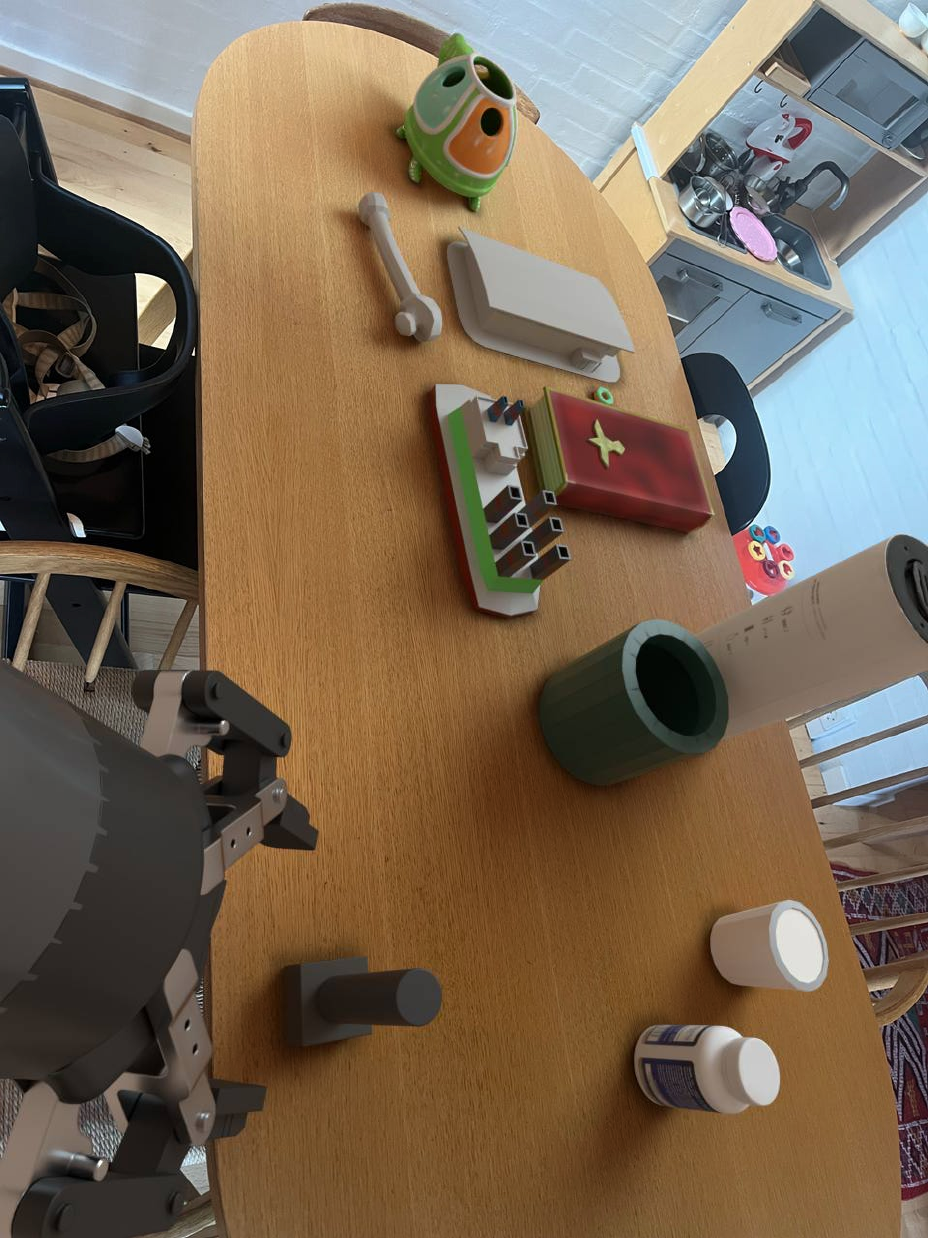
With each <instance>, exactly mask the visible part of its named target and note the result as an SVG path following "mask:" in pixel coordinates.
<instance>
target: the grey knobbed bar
mask: <svg viewBox="0 0 928 1238" xmlns="http://www.w3.org/2000/svg"><path fill="white" fill-rule="evenodd" d="M357 205H358V206H357V207H358V215H359V219H360V220H361V222H362V223H363V225H365V226H367V227H369V229H370V232H371V236H372V238H373V241H374V243H375V246H376V248H377V251H378V253H379V256H380V258H381V261H382V263H383V267H384V268H385V270H386V272H387V274H388V277H389V280H390V282H391V283H392V286H393V288H394V290H395V293H396V294H397V297H398V299H399V301H400V304H399V306H398V308H399V312H398V313H397V314H396V316H395V317H394V321H395V322H394V323H395V328H396V330H397V331H398V333H399V334H400V335H401V336H405V337H410V336H413V337H414V338H415V339H416V340H417V341H418V342H419V343H430V342H434V341H437V340H438V338H439V337H440V336H441V332H442V327H443V318H442V310H441V308H440V307H439V305H438V304H437V302H436V301H435V300H434V299H433V298H432V297H430V296H427V295H424V294H421V292H420V290H419V288H418V285H417V284H416V282H415V280H414V278H413V276H412V274H411V271H410V269H409V268H408V265H407V263H406V261H405V259H404V257H403V254H402V253H401V250H400V248H399V245H398V244H397V241H396V239H395V236H394V233H393V230H392V228H391V226H390V221H391V219H392V216H391V212H390V208H389V206H388V204H387V201H386V198H385V197H384V195H383V194H382V193H381V192H379V191H370V192H366V193H365V194H364V195H363V196H362V197H361V198H360V200H359V202H358V204H357Z"/></svg>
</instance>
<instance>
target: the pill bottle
mask: <svg viewBox="0 0 928 1238" xmlns="http://www.w3.org/2000/svg"><path fill="white" fill-rule="evenodd" d="M633 1061H634V1071H635V1076H636V1077H635V1078H636V1079H637V1083H638V1085H639V1087H640V1089H641V1091H642V1092H643V1094H644V1095H645V1096H646V1097H647V1098H648V1099H649V1100H650V1101H651V1102H653V1103H655V1104H657V1105H659V1106H662V1107H668V1108H676V1109H685V1110H692V1111H701V1112H709V1113H716V1114H725V1115H736V1114H739V1113H742V1112H744V1111H745V1110H747V1109H748V1107H749V1106H757V1107H765V1106H766V1107H767V1106H769V1105H771V1104H772V1103H773V1102H774V1101H775V1100H776V1098H777V1096H778V1094H779V1090H780V1085H781V1075H780V1074H781V1073H780V1067H779V1063H778V1061H777V1057H776V1055H775V1054H774V1052H773V1050H772V1048H771V1047H770V1046H769V1045H768V1044H767V1043H766V1042H765V1041H764V1040H763V1039H759V1038H757V1037H748V1036H742V1035H741V1034H740V1033H739V1032H738V1031H737V1030H735V1029H733V1028H731V1027H728V1026H725V1025H710V1024H709V1025H707V1024H706V1025H705V1024H704V1025H701V1024H700V1025H698V1024H696V1025H695V1024H657V1025H656V1024H655V1025H653V1026H652V1025H651V1026H650V1027H648V1028H646V1029H645V1030H644V1031H643V1032H642V1033H641V1035H639V1037H638V1040H637V1042H636V1045H635V1048H634V1056H633Z"/></svg>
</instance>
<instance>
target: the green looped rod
mask: <svg viewBox="0 0 928 1238" xmlns="http://www.w3.org/2000/svg"><path fill="white" fill-rule="evenodd" d="M593 398H594V401H597V402H600V403H604V404H607V405H610V406H613V403H614V397H613V395H612V393H611V392H610V391H609V390H608V389H607V388H605V387H602V386H600V387H598V388H596V390H595V391H594V393H593Z"/></svg>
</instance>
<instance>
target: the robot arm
mask: <svg viewBox="0 0 928 1238" xmlns="http://www.w3.org/2000/svg"><path fill="white" fill-rule="evenodd" d="M131 696H132V700H133V703H134V705H135V706H136V707H137V708H138V709H139V710H141V711H143V712H144V713H146V714H148V715H147V719H146V720H147V721H146V723H145V726H144V730H143V734H142V737H141V741H140V744H138V743H136V742H134V741H132V740H131V739H130V738H128V737H126V735H125V736H124V735H123V734H122V733H120V732H118V731H116V730H115V729H113V728H112V727H111V726H109V725H107V724H106V723H104V722H103V721H101V720H99V719H97V718H96V717H94V716H93V715H91V714H90V713H88V712H86V710H84V709H82V708H81V707H79V706H77V705H76V704H74V703H73V702H71V701H70V700H68V699H67V698H65V697H63V696H62V695H60V694H59V693H57V692H55V691H54V690H52V689H50V688H48V687H47V686H45V685H43V684H41V683H40V682H38V681H37V680H36V679H34V678H33V677H31V676H29V675H28V674H26V673H25V672H23V671H21V670H20V669H19V668H17V667H15V666H14V665H12V664H11V663H9V662H8V661H6V660H4V659H3V658H2V657H0V1080H10V1081H11V1083H12V1084H13V1086H14V1087H15V1088H16V1090H17V1091H18V1092H19V1093H21V1094H23V1095H24V1096H23V1098H22V1101H21V1105H20V1107H19V1109H18V1112H17V1115H16V1118H15V1120H14V1123H13V1126H12V1129H11V1131H10V1134H9V1136H8V1139H7V1142H6V1144H5V1148H4V1150H3V1153H2V1156H1V1159H0V1238H137V1237H141V1236H146V1235H147V1236H148V1235H153V1234H159V1233H163V1232H167V1231H170V1230H171V1229H172V1228H173V1227H174V1226H175V1225H176V1223H177V1221H178V1220H179V1218H180V1216H181V1214H182V1211H183V1208H184V1206H185V1202H186V1198H187V1192H188V1182H187V1179H186V1177H185V1175H184V1174H179V1173H180V1171H181V1168H182V1166H183V1163H184V1161H185V1159H186V1157H187V1155H188V1153H189V1152H190V1150H191V1149H192V1148H193V1147H194V1148H195V1147H196V1148H199V1147H201V1146H203V1145H204V1144H205V1143H206V1141H213V1140H219V1139H226V1138H232V1137H233V1138H234V1137H238V1135H239V1134H240V1133H241V1132H242V1131H243V1130H244V1129H245V1128H246V1123H247V1119H248V1114H249V1113H256V1112H263V1111H264V1110H263V1109H264V1105H265V1100H266V1095H267V1090H268V1086H267V1085H262V1084H256V1083H249V1082H243V1081H236V1080H228V1079H223V1078H214V1077H213V1078H211V1077H208V1076H207V1073H206V1069H207V1067H208V1065H209V1063H210V1061H211V1060H212V1057H213V1056H214V1051H215V1050H214V1047H213V1045H212V1041H211V1038H210V1035H209V1032H208V1028H207V1026H206V1022H205V1020H204V1016H203V1013H202V1010H201V1006H200V1003H199V1000H198V996H197V993H200V991H201V987H202V983H203V979H204V975H205V971H206V967H207V963H208V953H209V947H210V938H211V933H212V930H213V928H214V925H215V922H216V921H217V917H218V914H219V912H220V910H221V907H222V903H223V899H224V895H225V891H226V887H227V884H228V883H227V882H228V880H227V879H225V878H226V871H228V870H229V868H231V867H232V866H233V865H234V864H236V862H238V861H239V860H240V859H242V858H243V857H244V856H245V855H246V854H248V852H250V851H251V850H252V849H253V848H255V847H256V846H257V845H258V844H260V845H262V846H264V847H268V848H270V849H271V848H272V849H280V850H294V851H310V852H311V851H312V852H313V851H316V848H317V843H318V839H319V834H320V830H318V829H317V828H316V827H314V826H313V825H312V824H310V819H311V815H310V812H309V809H308V807H306V806H305V805H304V804H302V803H301V801H299V800H297V799H296V798H295V797H293V796H292V795H290V794H289V792H288V785H287V782H286V780H285V779H284V778H282V777H278V775H277V767H278V758H285V757H287V756H288V754H289V753H290V750H291V747H292V739H293V737H292V730H291V727H290V725H289V724H288V723H287V722H286V721H284V720H283V719H282V718H281V717H279V716H278V715H277V714H276V713H274V712H273V711H272V710H271V709H269V708H268V707H267V706H266V705H264V704H263V703H262V702H260V701H259V700H258V699H257V698H255V697H254V696H252V695H251V694H250V693H249V692H248V691H246V690H245V689H243V688H242V687H241V686H240V685H238V684H237V683H236V682H235V681H233V680H232V679H231V678H229V677H228V676H227V675H226V674H224V673H223V672H221V671H220V670H215V669H214V670H213V669H212V670H211V669H210V670H207V669H205V670H204V669H203V670H202V669H199V670H198V669H142V670H140V671H138V672H137V674H136V676H135V677H134V679H133V681H132V687H131ZM195 747H197V748H198V747H199V748H201V747H202V748H206V749H208V750H209V751H211V752H213V753H214V754H216V755H218V756H223V760H222V761H223V762H222V763H223V764H222V775H221V774H218V775H215V776H213V777H212V778H210V779H208V780H207V781H205V782H203V783H201V781H200V777H199V774H198V772H197V770H196V768H195V767H194V766H193V764H192V763H191V762H190V761H189V760H188V759H186V755H187V754H188V752H189V751H190V750H191V749H192V748H195ZM101 1095H103V1096H104V1099H105V1101H106V1103H107V1107H108V1108H109V1111H110V1113H111V1116H112V1119H113V1121H114V1123H115V1125H116V1128H117V1130H118V1132H119V1133H120V1134H121V1135H122V1138H121V1140H120V1142H119V1144H118V1146H117V1149H116V1151H115V1154H114V1155H113V1158H112V1160H111V1161H109V1159H108V1157H106V1156H100V1155H95V1154H94V1143H93V1140H92V1138H91V1137H90V1136H89V1135H88V1134H84V1133H83V1132H82V1130H81V1128H80V1123H79V1116H80V1115H79V1114H80V1109H81V1107H82V1104H86V1103H89V1102H92V1101H93V1100H96V1099H97V1098H98V1097H100V1096H101Z"/></svg>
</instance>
